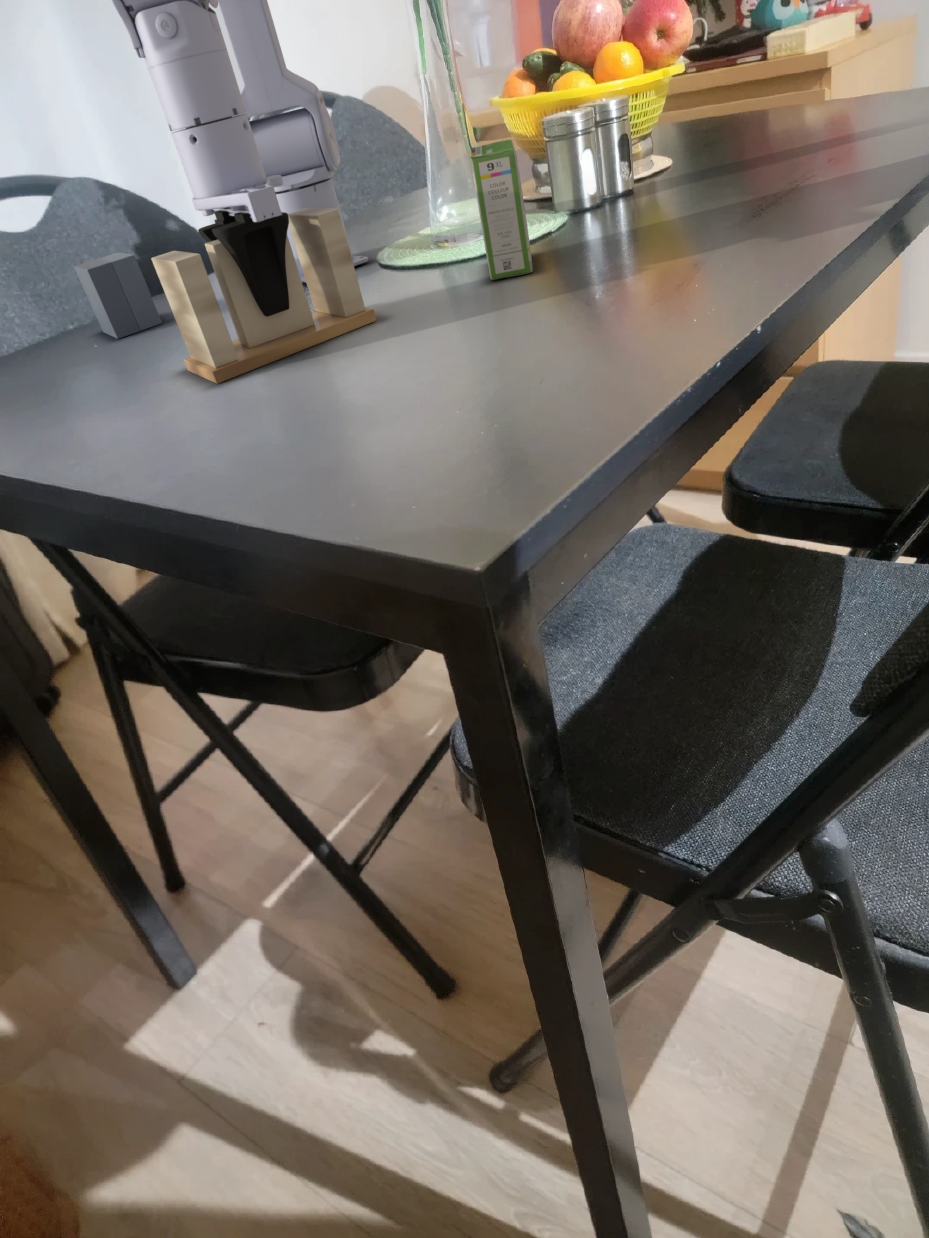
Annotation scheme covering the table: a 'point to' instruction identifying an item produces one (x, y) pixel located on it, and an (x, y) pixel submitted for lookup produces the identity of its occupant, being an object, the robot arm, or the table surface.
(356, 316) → the book rack
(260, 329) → the cream book
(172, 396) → the table surface
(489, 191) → the ink box
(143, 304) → the grey books
